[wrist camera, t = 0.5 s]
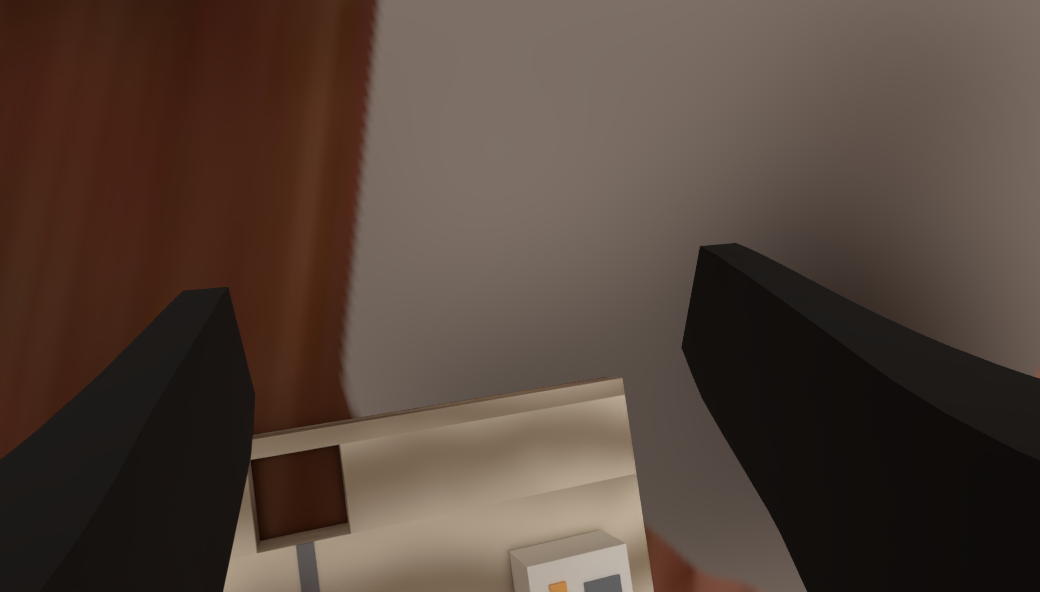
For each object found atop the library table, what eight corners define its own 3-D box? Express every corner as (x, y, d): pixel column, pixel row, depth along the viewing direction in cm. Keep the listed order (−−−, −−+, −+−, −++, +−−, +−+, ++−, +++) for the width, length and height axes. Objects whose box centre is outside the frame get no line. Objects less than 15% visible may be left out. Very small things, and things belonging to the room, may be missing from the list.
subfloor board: (637, 608, 40) (659, 624, 38) (17, 777, 31) (-7, 813, 29) (603, 377, 41) (622, 378, 38) (-12, 478, 32) (-39, 488, 30)
